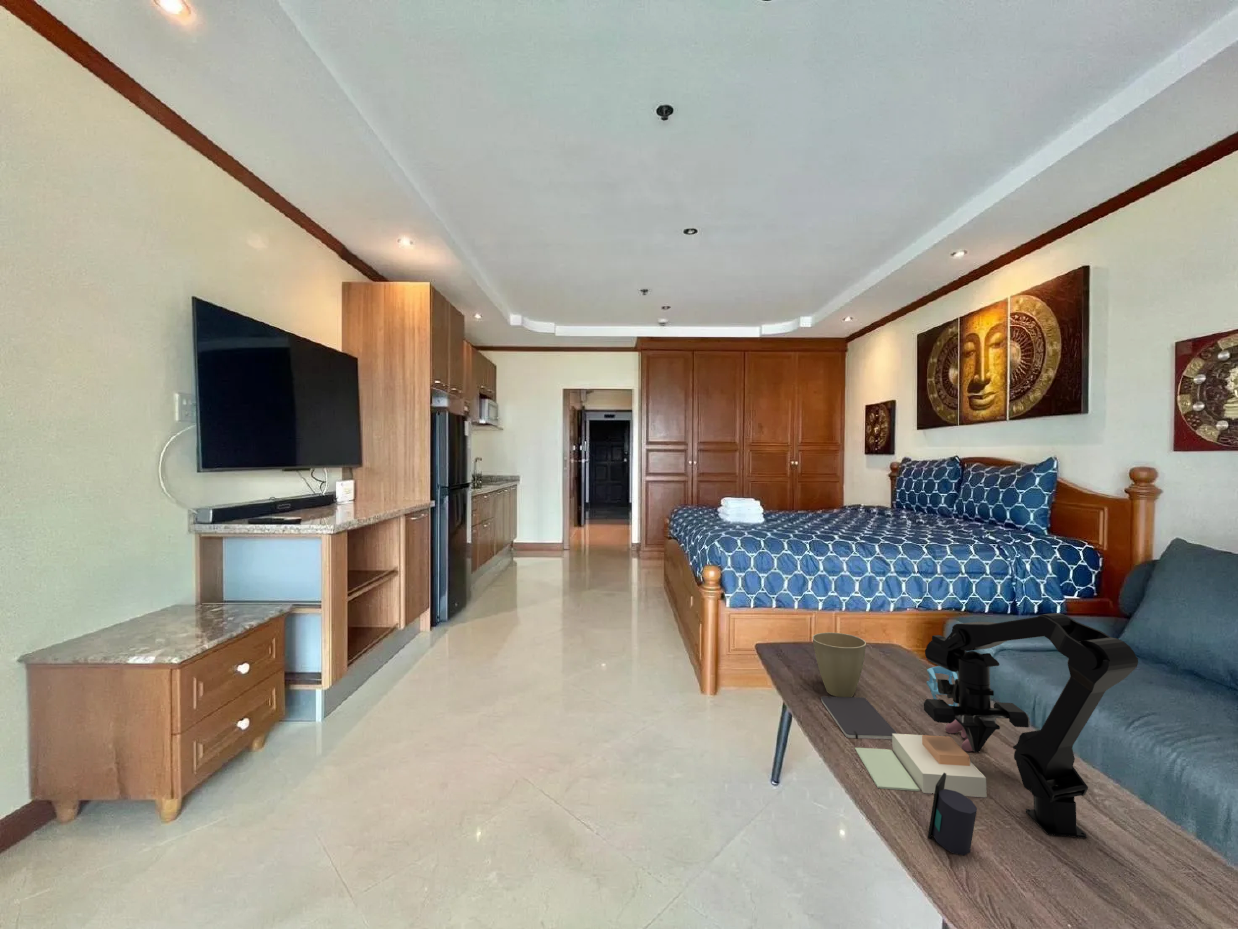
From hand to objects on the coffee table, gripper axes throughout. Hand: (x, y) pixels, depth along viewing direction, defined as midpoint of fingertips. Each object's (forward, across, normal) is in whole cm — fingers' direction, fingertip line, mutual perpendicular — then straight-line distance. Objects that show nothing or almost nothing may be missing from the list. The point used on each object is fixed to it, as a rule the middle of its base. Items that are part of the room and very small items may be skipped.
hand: (975, 751), depth 109 cm
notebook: (+6, +18, -23) cm, 30 cm away
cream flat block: (+5, +8, 0) cm, 10 cm away
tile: (+1, +6, 0) cm, 6 cm away
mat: (+5, +19, 0) cm, 19 cm away
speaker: (+5, +15, +22) cm, 27 cm away
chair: (+5, -7, -29) cm, 30 cm away
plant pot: (+5, +18, -39) cm, 43 cm away
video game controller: (+5, -5, -14) cm, 16 cm away
